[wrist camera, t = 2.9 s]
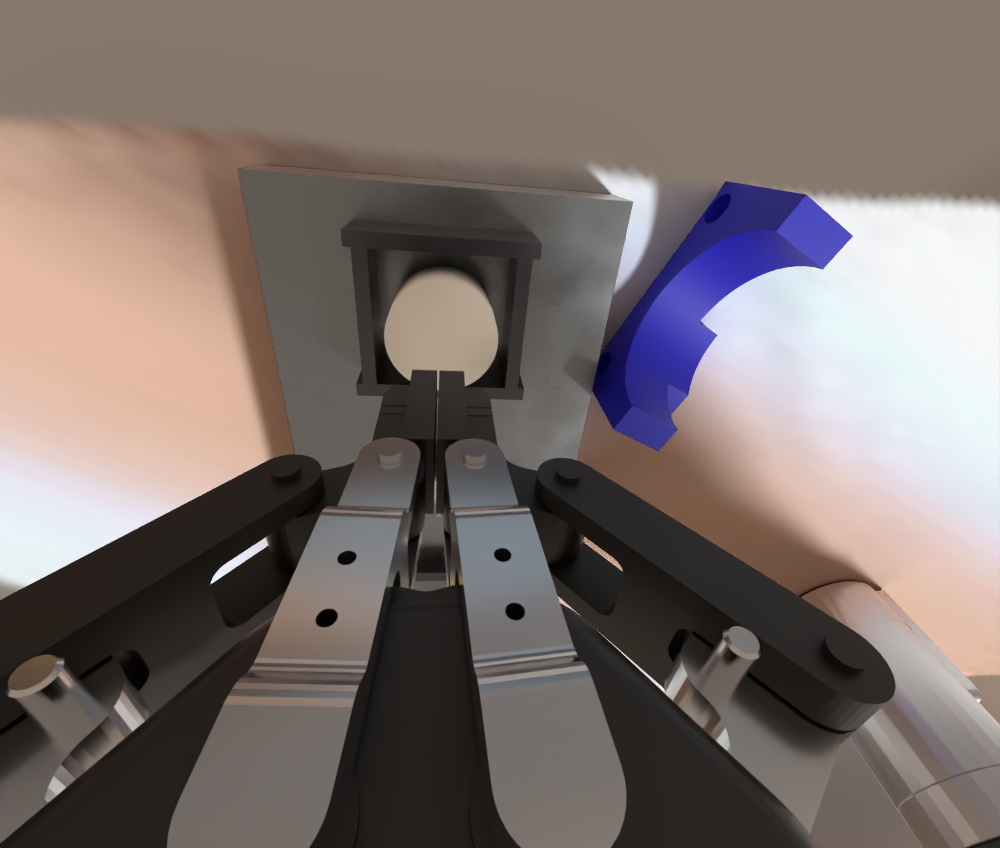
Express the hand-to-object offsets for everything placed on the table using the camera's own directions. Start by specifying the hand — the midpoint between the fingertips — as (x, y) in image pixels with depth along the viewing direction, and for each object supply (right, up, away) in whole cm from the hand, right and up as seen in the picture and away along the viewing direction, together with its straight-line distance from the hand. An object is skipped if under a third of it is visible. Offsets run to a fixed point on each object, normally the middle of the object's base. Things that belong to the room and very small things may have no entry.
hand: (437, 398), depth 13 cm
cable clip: (+12, +6, +12) cm, 18 cm away
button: (-1, +4, +6) cm, 7 cm away
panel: (-2, -2, +16) cm, 16 cm away
